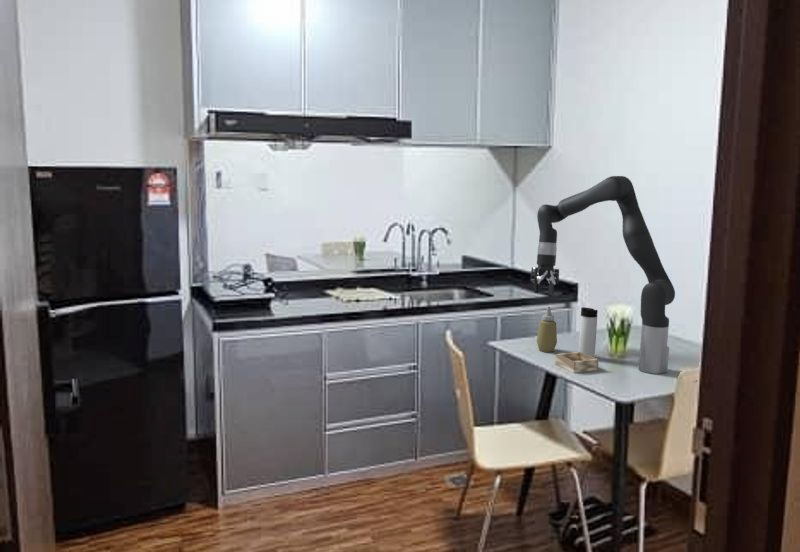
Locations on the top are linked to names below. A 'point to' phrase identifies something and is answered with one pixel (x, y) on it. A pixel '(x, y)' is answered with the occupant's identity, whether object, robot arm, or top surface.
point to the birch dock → (576, 362)
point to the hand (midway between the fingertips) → (543, 293)
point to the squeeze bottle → (547, 332)
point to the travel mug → (588, 331)
